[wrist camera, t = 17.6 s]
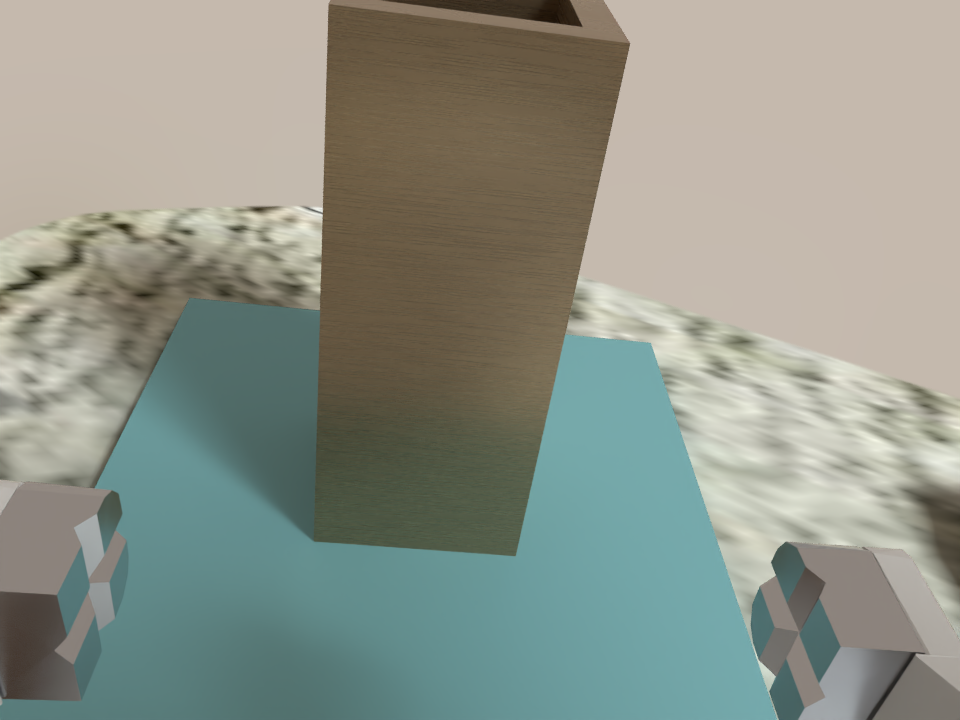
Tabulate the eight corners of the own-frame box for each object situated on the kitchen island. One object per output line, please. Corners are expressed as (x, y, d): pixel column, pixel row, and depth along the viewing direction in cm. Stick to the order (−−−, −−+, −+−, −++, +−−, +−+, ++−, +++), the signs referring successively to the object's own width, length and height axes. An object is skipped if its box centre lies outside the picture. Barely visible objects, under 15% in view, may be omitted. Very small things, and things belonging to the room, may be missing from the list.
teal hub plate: (646, 355, 34) (678, 249, 32) (789, 797, 20) (869, 670, 17) (190, 311, 33) (182, 195, 30) (-27, 758, 18) (-82, 610, 15)
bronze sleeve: (506, 428, 28) (591, -19, 21) (515, 556, 24) (630, 43, 16) (337, 413, 28) (357, -51, 20) (313, 541, 23) (328, 4, 15)
